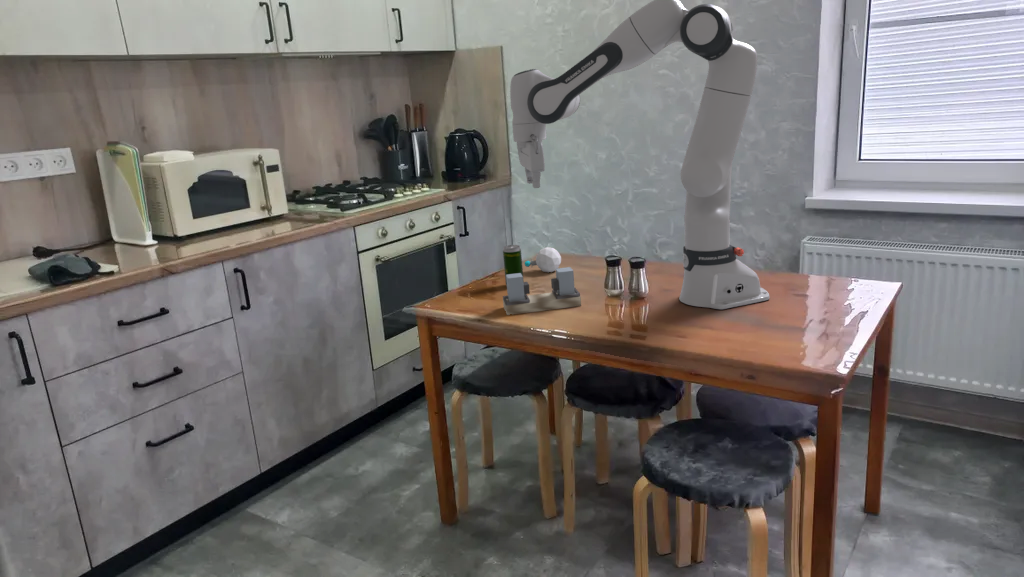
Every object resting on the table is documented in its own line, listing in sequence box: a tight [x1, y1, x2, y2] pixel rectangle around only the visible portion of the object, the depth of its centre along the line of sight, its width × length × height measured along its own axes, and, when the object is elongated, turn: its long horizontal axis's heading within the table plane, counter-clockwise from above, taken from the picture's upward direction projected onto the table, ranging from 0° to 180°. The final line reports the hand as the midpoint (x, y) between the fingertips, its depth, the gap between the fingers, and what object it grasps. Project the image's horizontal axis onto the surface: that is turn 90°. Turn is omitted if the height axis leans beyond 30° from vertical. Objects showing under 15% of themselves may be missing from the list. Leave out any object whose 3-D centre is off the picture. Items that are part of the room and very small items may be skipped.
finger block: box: [505, 273, 531, 302], centre depth 187 cm, size 6×4×7 cm
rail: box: [502, 287, 582, 316], centre depth 189 cm, size 20×7×3 cm, turn 98°
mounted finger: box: [550, 266, 575, 296], centre depth 188 cm, size 6×4×7 cm
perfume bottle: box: [524, 246, 562, 273], centre depth 222 cm, size 8×8×12 cm
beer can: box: [502, 244, 525, 286], centre depth 209 cm, size 5×5×12 cm
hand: (533, 185), depth 191 cm, fingers open, 8 cm apart
